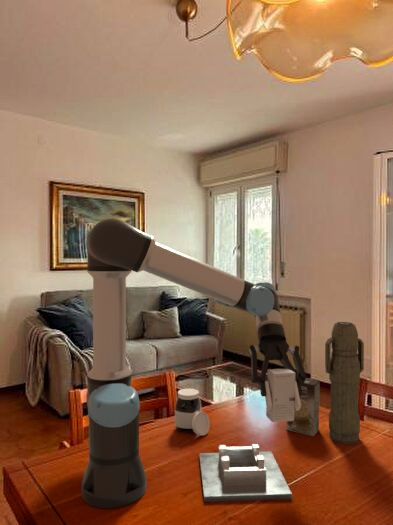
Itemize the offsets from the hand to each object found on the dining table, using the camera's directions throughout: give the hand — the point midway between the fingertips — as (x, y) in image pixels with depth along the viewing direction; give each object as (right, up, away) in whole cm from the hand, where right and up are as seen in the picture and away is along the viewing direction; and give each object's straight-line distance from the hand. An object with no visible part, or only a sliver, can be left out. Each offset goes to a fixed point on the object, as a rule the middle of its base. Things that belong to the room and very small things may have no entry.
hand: (284, 408), depth 98 cm
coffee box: (+13, -18, +30) cm, 37 cm away
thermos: (+24, -18, +25) cm, 39 cm away
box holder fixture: (-10, -18, +3) cm, 21 cm away
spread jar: (-22, -18, +31) cm, 42 cm away
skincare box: (0, -4, +4) cm, 6 cm away
